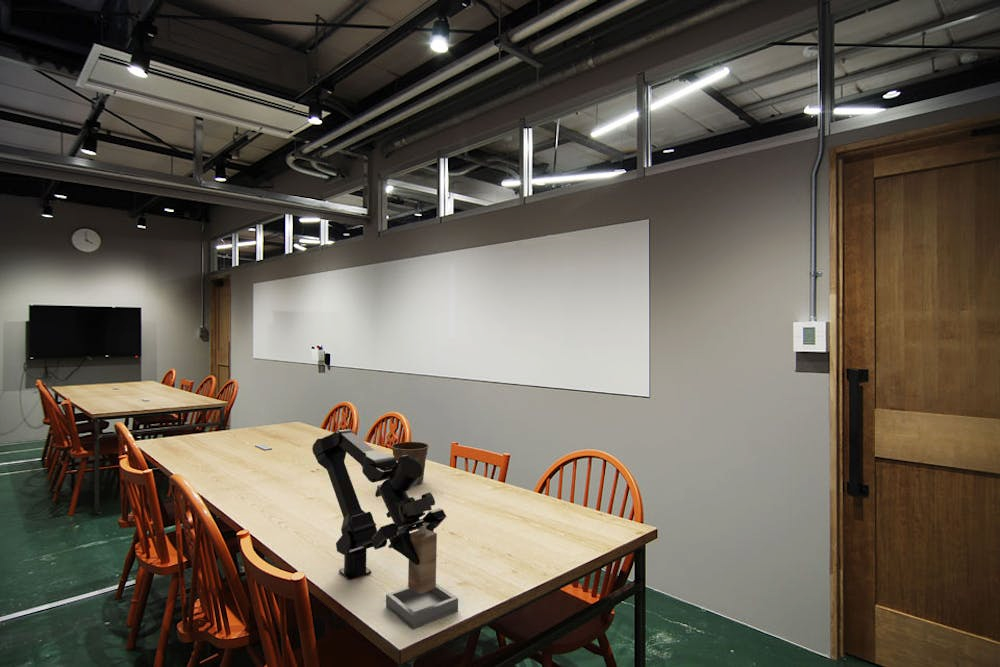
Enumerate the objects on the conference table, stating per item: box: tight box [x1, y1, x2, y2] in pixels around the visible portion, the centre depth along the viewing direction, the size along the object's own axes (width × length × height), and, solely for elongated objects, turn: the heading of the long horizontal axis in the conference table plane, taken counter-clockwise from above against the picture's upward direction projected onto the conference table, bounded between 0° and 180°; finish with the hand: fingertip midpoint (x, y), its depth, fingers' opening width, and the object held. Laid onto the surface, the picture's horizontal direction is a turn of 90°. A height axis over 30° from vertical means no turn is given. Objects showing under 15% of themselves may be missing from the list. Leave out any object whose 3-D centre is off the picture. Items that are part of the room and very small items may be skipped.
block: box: [407, 526, 438, 594], centre depth 118 cm, size 4×4×14 cm
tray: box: [385, 583, 459, 631], centre depth 118 cm, size 12×12×3 cm
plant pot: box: [390, 441, 430, 486], centre depth 223 cm, size 16×16×16 cm
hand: (426, 560), depth 117 cm, fingers closed on block, 4 cm apart
